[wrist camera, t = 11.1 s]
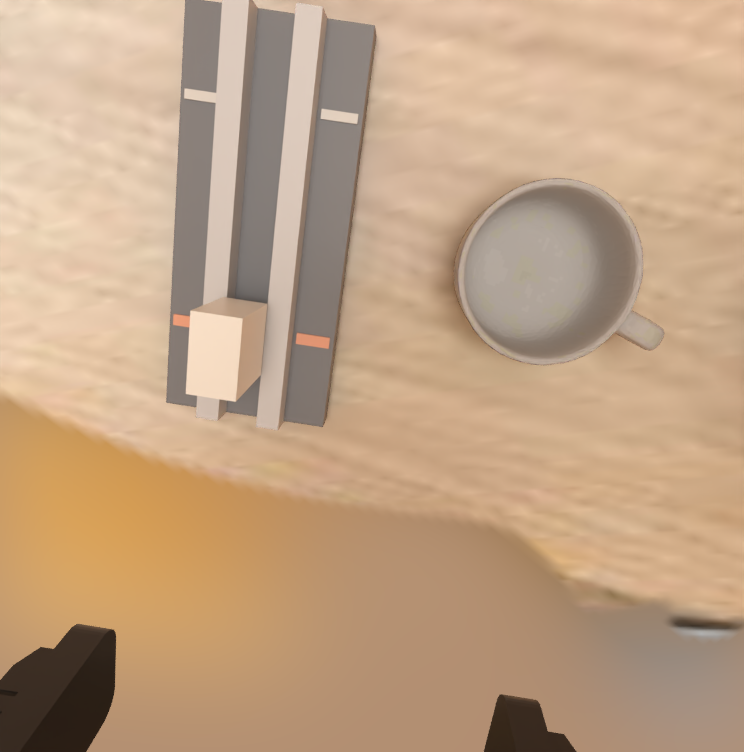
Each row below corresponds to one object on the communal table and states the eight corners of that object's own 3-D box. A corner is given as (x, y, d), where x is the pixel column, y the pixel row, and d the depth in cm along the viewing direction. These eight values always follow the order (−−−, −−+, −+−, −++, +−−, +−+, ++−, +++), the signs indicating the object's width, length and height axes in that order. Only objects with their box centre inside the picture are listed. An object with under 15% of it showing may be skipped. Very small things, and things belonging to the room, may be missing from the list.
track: (376, 35, 37) (373, 13, 33) (326, 418, 44) (318, 436, 40) (196, 9, 37) (172, -16, 33) (176, 394, 44) (155, 411, 40)
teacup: (417, 274, 41) (420, 286, 33) (522, 152, 38) (552, 134, 30) (554, 394, 43) (587, 432, 35) (663, 286, 40) (725, 301, 32)
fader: (274, 299, 39) (242, 318, 31) (268, 366, 41) (235, 401, 33) (232, 292, 39) (190, 310, 31) (227, 360, 41) (185, 393, 33)
